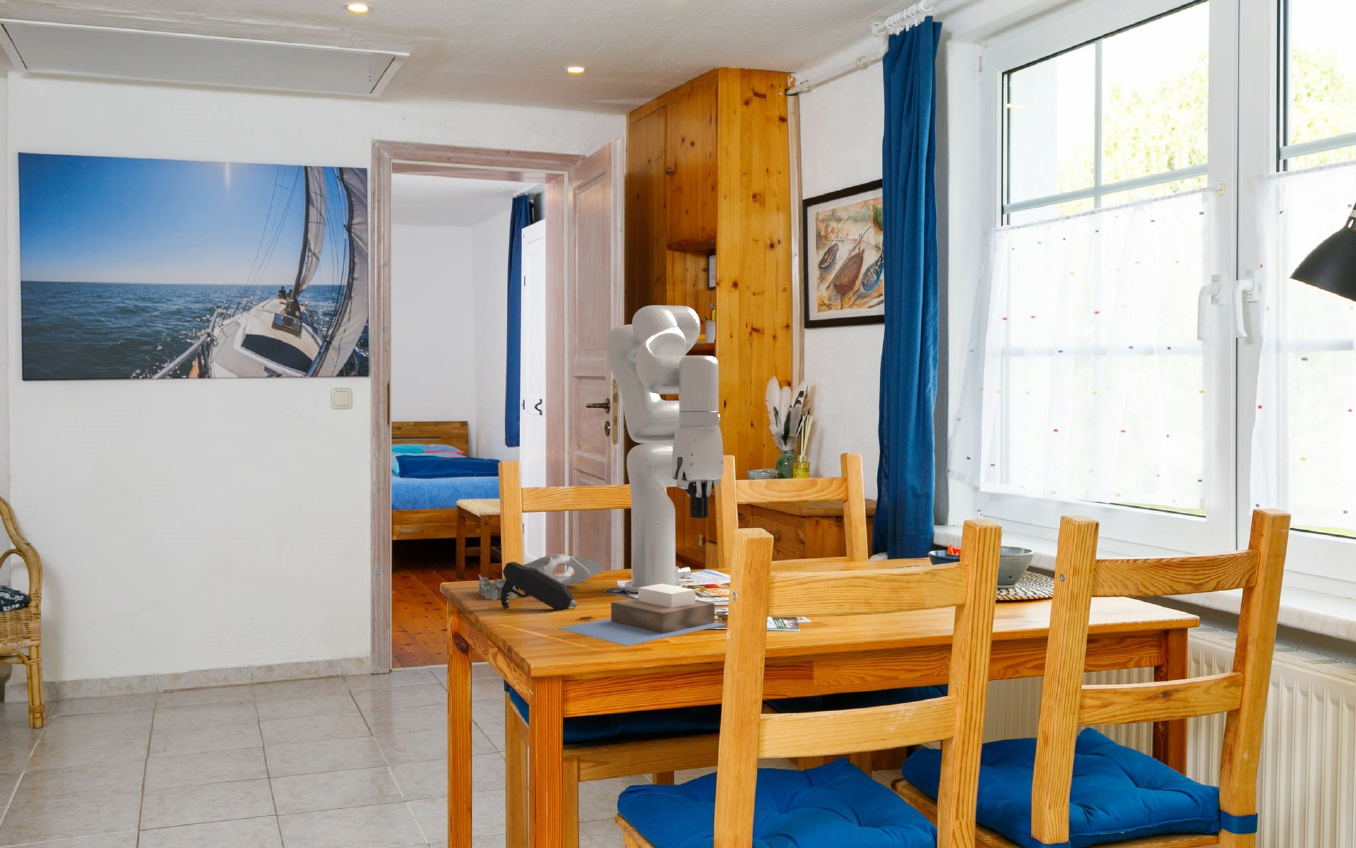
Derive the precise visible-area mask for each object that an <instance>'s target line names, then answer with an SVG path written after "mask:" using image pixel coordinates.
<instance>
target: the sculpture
mask: <svg viewBox="0 0 1356 848" xmlns="http://www.w3.org/2000/svg"><path fill="white" fill-rule="evenodd" d="M522 565H523V566H525V567H530V568H535V569H537V570H539V569H540V570H541V571H543V572H545V573H547V574H548V575H550V576H552V577H554V578H555V579H557V580H559V581H561V582H560V583H562V584H563V585H565V586H566V587H567V586H572V585H576V584H579V583H582V582H584V581H588V579H590V578H591V577H593V576H596V575H598V574H599V573H602V571H604V570H605V567H604V565H603V564H601V563H600V562H598V561H595V560H591V559H588V558H586V557H580V556H575V555H566V554H561V553H554V554H550V555H546V556H545V555H544V556H542V557H539V558H536V559H535V560H533V561H530V562H527V563H525V564H522ZM562 565H563V566H566V570H565V571H564V573H561V574H553V572H554V569H555V568H556V567H558V566H562ZM573 572H574V573H573ZM572 574H573V575H572Z"/></svg>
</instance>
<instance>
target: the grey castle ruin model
mask: <svg viewBox="0 0 1356 848" xmlns="http://www.w3.org/2000/svg"><path fill="white" fill-rule="evenodd" d="M481 575H482V574H478V578H479V583H478V594H479V595H481V596H482V597H484V599H485V600H486V599H491V600H490V601H497V600H496V599H498V600H501V592H502V588H503V586H504V583H505V581H506V578H505V577H504V578H502V579H500V580H499V579H498V578H495V579H494V582H490V580H489V578H488V577H485V576H484V577H483V576H481ZM512 589H514V590H516V587H515V586H513V588H512ZM516 591H517V590H516ZM517 592H519V590H518V591H517ZM518 597H519V596H518V595H516V594H514V593H513V592H510V593H509V597H508V598H509V600H513V599H515V598H518Z"/></svg>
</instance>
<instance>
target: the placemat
mask: <svg viewBox="0 0 1356 848" xmlns="http://www.w3.org/2000/svg"><path fill="white" fill-rule="evenodd" d="M726 625H727V624H725V623H722V622H716V621H715V623H711V624H706V625H702V626H697V627H692V628H688V629H683V630H678V631H673V632H669V633H664V634H662V633H658V632H653V631H649V630H645V629H640V628H636V627H632V626H627V625H623V624H619V623H615V622H611V617H610V618H604V619H599V620H594V621H589V622H584V623H577V624H574V625H567V626H564V627H562V626H561V627H558V628H557V629H558V630H561V631H567V632H570V633H574V634H578V635H582V636H586V637H590V638H594V639H597V640H602V641H604V642H610V643H614V644H618V645H622V646H626V647H629V646H630V647H631V646H633V645H638V644H643V643H649V642H653V641H657V640H662V639H666V638H672V637H675V636H680V635H686V634H689V633H695V632H699V631H704V630H708V629H713V628H718V627H723V626H726Z"/></svg>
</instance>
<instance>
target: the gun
mask: <svg viewBox="0 0 1356 848" xmlns="http://www.w3.org/2000/svg"><path fill="white" fill-rule="evenodd" d="M523 565H524V564H520V563H518V562H516V561H511V562H510V561H509V562H506V563H505V566H504V567H503V569H502V573H503V577H504V579H505V578H506V581H505V583H504V586H503V588H502V592H501V599H500V602H501V606H502V607H503V608H505V609H509V608H510V605H509V600H510V599H509V598H508V597H509V593H510V592H513V593H514V594H516V595H518V597H520V598H527V597H530V596H531V597H533V598H534V599H536V600H538V601H539V602H541V603H543V604H544V605H547V606H548V607H550V608H552V609H554V610H556V611H557V612H559V611H566V610H569V609H570V608H571V607H572V608H574V609H575V608H576V607H577V605H578V602H576V601H575V600H574V599H575V596H574V595H573V593H572V592H571V590H570V589H569V588H568V587H567V586H565V585H563V584H562V583H560V582H561V581H559V580H557V579H555V578H554V577H552V576H550V575H548V574H547V573H545V572H543V571H541V570H540V569H539V570H537V569H535V568H530V567H525V566H523ZM513 586H515V587H516V590H517V591H518V592H517V591H516V590H514V589H512V588H513ZM519 590H521V591H523V592H524V594H522V593H521V592H519Z"/></svg>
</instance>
